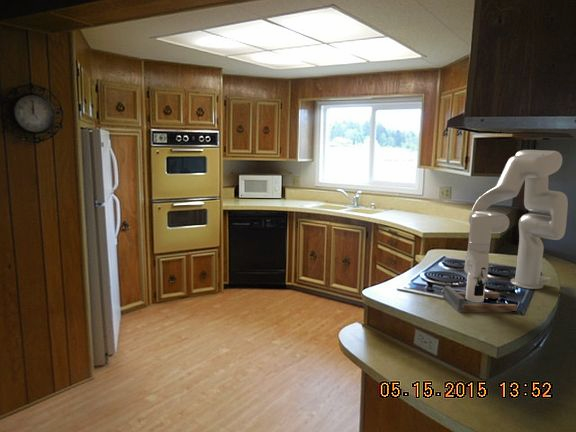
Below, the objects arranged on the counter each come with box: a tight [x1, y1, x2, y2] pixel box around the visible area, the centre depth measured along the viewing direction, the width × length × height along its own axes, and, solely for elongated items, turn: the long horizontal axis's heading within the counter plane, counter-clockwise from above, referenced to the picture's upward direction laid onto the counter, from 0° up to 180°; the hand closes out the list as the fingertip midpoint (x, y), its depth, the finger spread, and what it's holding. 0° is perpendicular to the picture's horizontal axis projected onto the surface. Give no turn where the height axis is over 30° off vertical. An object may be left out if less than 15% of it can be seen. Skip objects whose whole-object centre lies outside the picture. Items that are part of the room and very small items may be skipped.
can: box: [465, 272, 486, 304], centre depth 164 cm, size 6×6×12 cm
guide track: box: [442, 285, 518, 313], centre depth 166 cm, size 22×14×5 cm, turn 92°
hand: (474, 292), depth 165 cm, fingers closed on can, 5 cm apart
